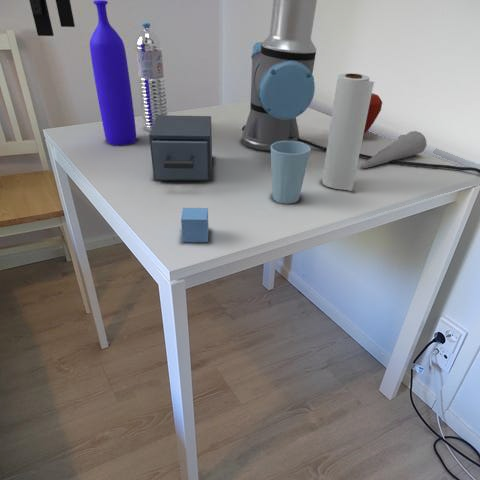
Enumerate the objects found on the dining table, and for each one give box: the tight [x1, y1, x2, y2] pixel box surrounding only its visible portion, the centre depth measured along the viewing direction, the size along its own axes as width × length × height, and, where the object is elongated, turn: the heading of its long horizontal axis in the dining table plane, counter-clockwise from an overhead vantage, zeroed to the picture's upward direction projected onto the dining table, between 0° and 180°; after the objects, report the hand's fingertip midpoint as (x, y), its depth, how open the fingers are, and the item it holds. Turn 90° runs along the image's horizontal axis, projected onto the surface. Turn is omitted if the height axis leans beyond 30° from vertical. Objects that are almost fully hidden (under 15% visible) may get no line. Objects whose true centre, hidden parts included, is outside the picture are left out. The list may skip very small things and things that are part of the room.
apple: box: [363, 92, 383, 135], centre depth 118 cm, size 11×11×12 cm
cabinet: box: [148, 114, 213, 182], centre depth 97 cm, size 15×13×10 cm
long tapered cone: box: [360, 130, 427, 169], centre depth 104 cm, size 6×6×19 cm
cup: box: [270, 141, 311, 205], centre depth 85 cm, size 8×8×10 cm
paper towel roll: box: [321, 72, 375, 192], centre depth 87 cm, size 7×6×21 cm
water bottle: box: [134, 22, 168, 132], centre depth 114 cm, size 7×7×25 cm
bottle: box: [89, 0, 137, 146], centre depth 104 cm, size 8×8×30 cm
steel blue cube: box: [180, 207, 209, 243], centre depth 74 cm, size 4×4×4 cm
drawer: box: [152, 139, 208, 181], centre depth 93 cm, size 18×11×8 cm, turn 2°
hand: (57, 31), depth 85 cm, fingers open, 13 cm apart
